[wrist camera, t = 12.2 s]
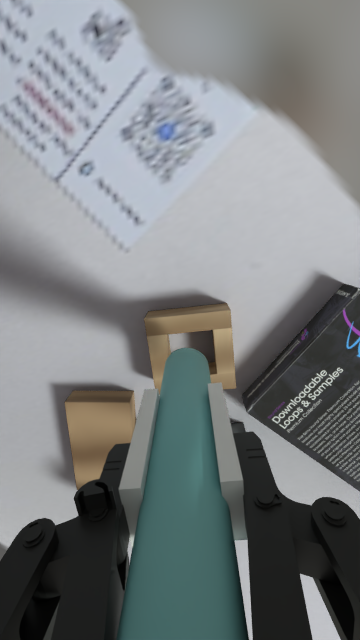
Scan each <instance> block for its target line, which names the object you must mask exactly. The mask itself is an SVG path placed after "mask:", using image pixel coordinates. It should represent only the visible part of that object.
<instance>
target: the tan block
mask: <svg viewBox="0 0 360 640" xmlns="http://www.w3.org/2000/svg"><path fill="white" fill-rule="evenodd" d="M65 409H66V416H67V423H68V430H69V437H70V444H71V451H72V458H73V465H74V472H75V479H76V487H77V490H79V489H80V488H81V487H82V486H83V485H84V484H86V483H87V482H89V481H92V480H95V479H99V478H100V476H101V473H102V471H103V467H104V464H105V461H106V458H107V455H108V453H109V451H110V450H111V449H112V448H113V447H114V445H115V444H123V443H131V440H132V436H133V432H134V428H135V425H136V415H135V400H134V391H73V392H72V393H71V394H70V396H69V397H68V398H67V400H66V401H65Z"/></svg>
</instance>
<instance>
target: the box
mask: <svg viewBox="0 0 360 640" xmlns="http://www.w3.org/2000/svg"><path fill="white" fill-rule="evenodd" d="M242 397H243V401H244V405H245V408H246V411H247V413H248V414H250V415H251V416H253V417H254V418H256V419H257V420H258V421H260V422H261V423H263V424H264V425H266V426H267V427H268V428H270V429H271V430H273V431H274V432H276V433H277V434H278V435H280V436H281V437H283V438H284V439H285V440H287V441H288V442H290V443H291V444H293V445H294V446H296V447H297V448H298V449H300V450H301V451H303V452H304V453H306V454H307V455H308V456H310V457H311V458H313V459H314V460H316V461H317V462H319V463H320V464H321V465H323V466H324V467H326V468H327V469H329V470H330V471H331V472H333V473H334V474H336V475H337V476H339V477H340V478H341V479H343V480H344V481H346V482H347V483H348V484H350V485H351V486H353V487H354V488H356V489H357V490H358V491H360V288H357V287H354V286H351V285H347V284H344V285H343V286H342V287H341V288H340V289H339V290H338V291H337V292H336V294H335V295H334V296H333V297H332V298H331V299H330V300H329V301H328V302H327V303H326V305H325V306H324V307H323V308H322V309H321V310H320V311H319V312H318V313H317V314H316V316H315V317H314V318H313V319H312V320H311V321H310V322H309V323H308V324H307V325H306V327H305V328H304V329H303V330H302V331H301V332H300V333H299V334H298V335H297V336H296V337H295V339H294V340H293V341H292V342H291V343H290V344H289V345H288V346H287V347H286V348H285V350H284V351H283V352H282V353H281V354H280V355H279V356H278V357H277V358H276V359H275V360H274V362H273V363H272V364H271V365H270V366H269V367H268V368H267V369H266V370H265V371H264V372H263V373H262V375H261V376H260V377H259V378H258V379H257V380H256V381H255V382H254V383H253V384H252V385H251V386H250V387H249V389H248V390H247V391H246V392H245V393H244V394H243V395H242Z"/></svg>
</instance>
